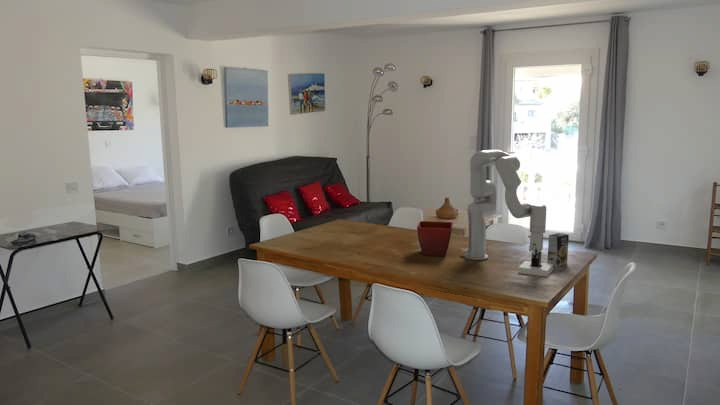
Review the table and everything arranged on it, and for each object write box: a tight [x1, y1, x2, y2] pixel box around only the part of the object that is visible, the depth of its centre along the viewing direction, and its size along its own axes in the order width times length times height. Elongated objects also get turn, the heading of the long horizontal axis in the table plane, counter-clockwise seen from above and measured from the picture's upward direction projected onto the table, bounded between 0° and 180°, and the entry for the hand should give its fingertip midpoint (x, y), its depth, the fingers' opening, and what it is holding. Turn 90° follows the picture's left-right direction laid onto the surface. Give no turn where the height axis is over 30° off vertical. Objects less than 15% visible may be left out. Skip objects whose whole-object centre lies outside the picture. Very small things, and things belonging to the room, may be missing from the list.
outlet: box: [517, 260, 554, 277], centre depth 281 cm, size 14×14×3 cm
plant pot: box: [416, 220, 454, 257], centre depth 318 cm, size 19×19×17 cm
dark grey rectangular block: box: [530, 251, 543, 268], centre depth 280 cm, size 4×4×8 cm
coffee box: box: [546, 232, 570, 268], centre depth 293 cm, size 9×6×16 cm
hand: (535, 264), depth 280 cm, fingers closed on dark grey rectangular block, 4 cm apart
